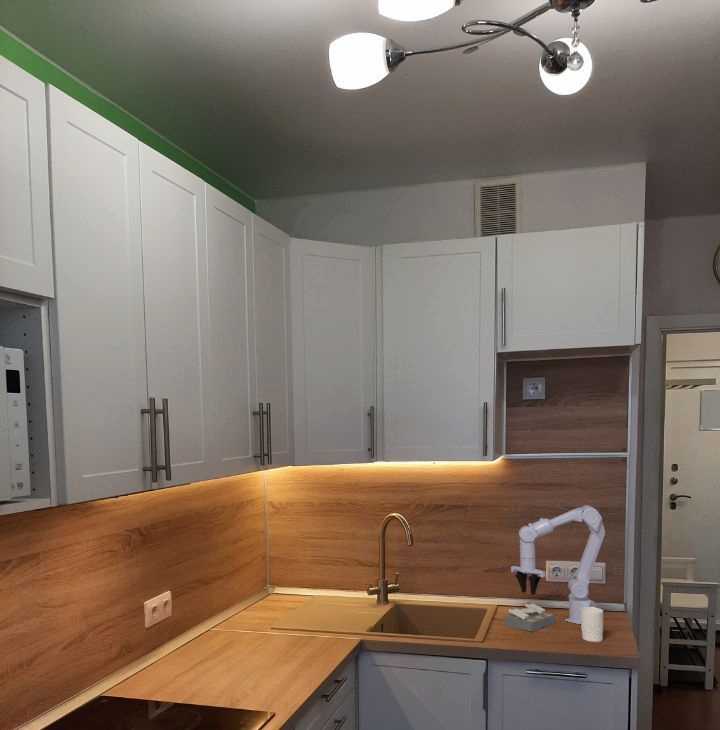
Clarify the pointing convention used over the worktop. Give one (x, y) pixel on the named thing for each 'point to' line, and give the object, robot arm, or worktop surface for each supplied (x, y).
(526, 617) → the left rocker
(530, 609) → the middle rocker
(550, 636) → the worktop surface
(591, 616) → the white cup
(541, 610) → the right rocker
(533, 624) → the switch box
